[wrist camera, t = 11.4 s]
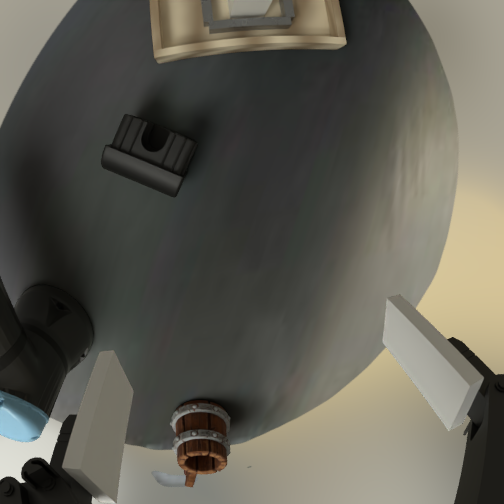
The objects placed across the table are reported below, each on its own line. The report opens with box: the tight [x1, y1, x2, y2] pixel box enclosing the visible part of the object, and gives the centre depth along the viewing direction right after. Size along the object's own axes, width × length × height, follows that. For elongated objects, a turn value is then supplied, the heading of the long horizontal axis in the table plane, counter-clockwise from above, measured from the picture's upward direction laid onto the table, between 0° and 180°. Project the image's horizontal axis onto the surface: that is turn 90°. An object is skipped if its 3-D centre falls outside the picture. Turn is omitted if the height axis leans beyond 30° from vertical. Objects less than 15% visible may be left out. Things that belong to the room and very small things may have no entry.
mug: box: [170, 400, 230, 487], centre depth 51 cm, size 12×14×15 cm
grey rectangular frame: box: [201, 0, 295, 34], centre depth 31 cm, size 11×8×2 cm
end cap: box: [101, 114, 198, 197], centre depth 35 cm, size 10×7×7 cm
